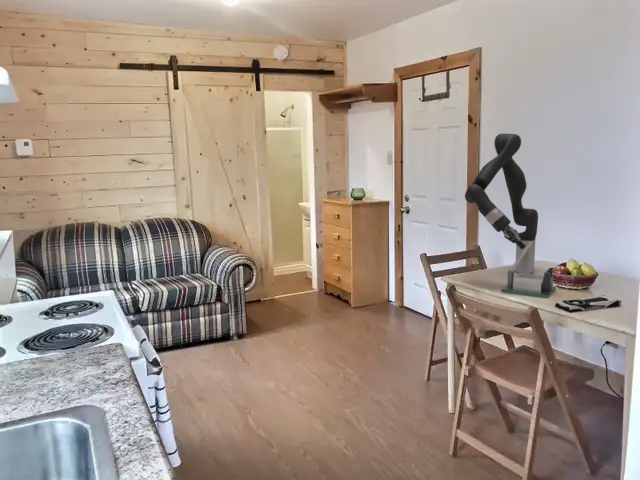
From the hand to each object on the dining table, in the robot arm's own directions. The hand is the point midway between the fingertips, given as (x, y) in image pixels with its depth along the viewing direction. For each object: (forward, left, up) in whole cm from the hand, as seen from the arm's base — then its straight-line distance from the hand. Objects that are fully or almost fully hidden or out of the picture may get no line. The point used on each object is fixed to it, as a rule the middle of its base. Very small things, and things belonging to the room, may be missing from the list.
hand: (524, 248), depth 245 cm
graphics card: (+12, +29, -21) cm, 37 cm away
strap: (0, -1, -5) cm, 5 cm away
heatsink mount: (0, +3, -20) cm, 20 cm away
